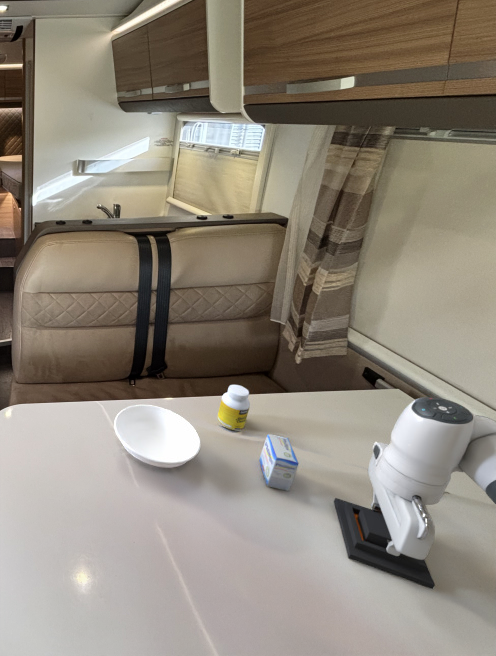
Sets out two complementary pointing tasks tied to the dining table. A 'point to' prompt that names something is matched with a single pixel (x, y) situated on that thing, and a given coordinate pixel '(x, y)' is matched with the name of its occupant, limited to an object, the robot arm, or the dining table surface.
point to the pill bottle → (234, 408)
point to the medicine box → (278, 462)
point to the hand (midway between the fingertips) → (383, 530)
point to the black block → (373, 527)
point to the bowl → (157, 435)
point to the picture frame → (377, 549)
